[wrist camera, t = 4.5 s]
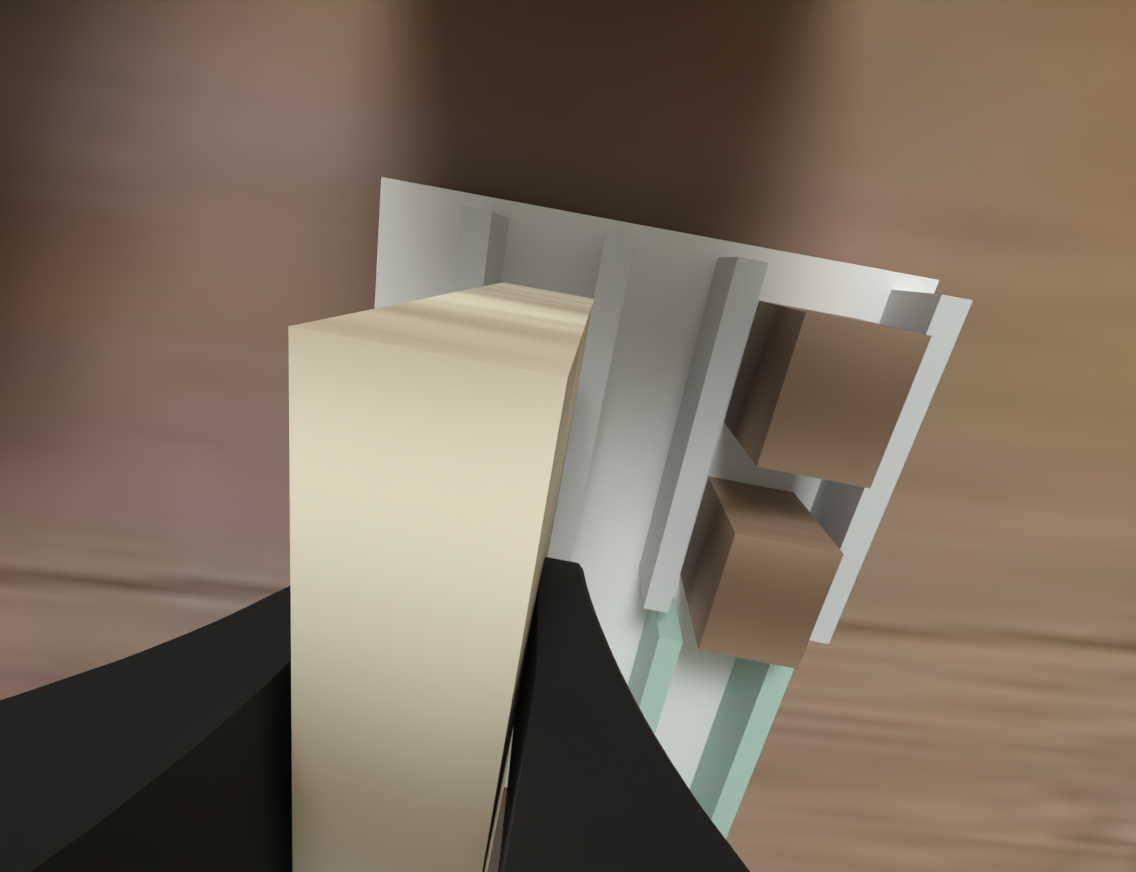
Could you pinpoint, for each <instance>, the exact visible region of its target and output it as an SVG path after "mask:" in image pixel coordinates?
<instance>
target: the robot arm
mask: <svg viewBox="0 0 1136 872" xmlns="http://www.w3.org/2000/svg"><path fill="white" fill-rule="evenodd" d="M0 872H293V866H292V727H291V588H290V586H289V587H287V588H285V589H283V590H281V591H278V592H276V593H274V594H272V595H270V596H268V597H266V598H264V599H262V600H260V601H258V602H256V603H254V604H252V605H250V606H248V607H246V608H244V609H242V610H240V611H237V612H235V613H233V614H231V615H229V616H227V617H225V618H222V619H220V620H218V621H216V622H213V623H211V624H209V625H206V626H204V627H202V628H199V629H197V630H195V631H192V632H190V633H188V634H185V635H183V636H180V637H178V638H175V639H173V640H170V641H168V642H165V643H163V644H160V645H158V646H155V647H153V648H150V649H148V650H145V651H143V652H140V653H137V654H135V655H132V656H129V657H127V658H124V659H121V660H119V661H116V662H113V663H110V664H107V665H104V666H101V667H98V668H95V669H92V670H89V671H86V672H83V673H80V674H78V675H75V676H72V677H69V678H66V679H63V680H60V681H57V682H54V683H51V684H48V685H45V686H42V687H39V688H37V689H34V690H31V691H28V692H25V693H22V694H19V695H16V696H13V697H10V698H6V699H3V700H0ZM498 872H750V871H749V870H748V869H747V867H746V866H745V865H744V863H743V862H742V861H741V859H740V858H739V857H738V855H737V854H736V853H735V851H734V850H733V848H732V847H731V846H730V844H729V843H728V842H727V840H726V839H725V838H724V836H723V835H722V834H721V832H720V831H719V830H718V828H717V827H716V826H715V824H714V823H713V822H712V820H711V819H710V818H709V816H708V815H707V814H706V812H705V811H704V810H703V808H702V807H701V806H700V804H699V803H698V801H697V800H696V798H695V797H694V795H693V794H692V792H691V791H690V789H689V788H688V786H687V785H686V783H685V782H684V780H683V779H682V777H681V776H680V774H679V773H678V771H677V770H676V768H675V767H674V765H673V764H672V762H671V760H670V759H669V757H668V756H667V754H666V752H665V751H664V749H663V747H662V746H661V744H660V743H659V741H658V739H657V738H656V736H655V734H654V733H653V731H652V729H651V728H650V726H649V724H648V722H647V721H646V719H645V717H644V715H643V713H642V712H641V710H640V708H639V706H638V704H637V702H636V701H635V699H634V697H633V695H632V693H631V691H630V689H629V687H628V685H627V683H626V681H625V679H624V677H623V675H622V673H621V671H620V669H619V667H618V665H617V662H616V660H615V658H614V656H613V654H612V651H611V649H610V647H609V644H608V642H607V640H606V637H605V635H604V633H603V630H602V628H601V625H600V623H599V620H598V618H597V615H596V612H595V609H594V606H593V603H592V601H591V598H590V594H589V591H588V588H587V584H586V580H585V576H584V570H583V569H582V567H581V566H580V564H579V563H576V562H570V561H565V560H560V559H554V558H549V557H545V559H544V563H543V567H542V572H541V576H540V580H539V585H538V591H537V596H536V602H535V608H534V613H533V619H532V624H531V630H530V636H529V641H528V647H527V653H526V658H525V664H524V669H523V675H522V681H521V686H520V692H519V697H518V703H517V709H516V714H515V720H514V727H513V737H512V747H511V756H510V766H509V775H508V785H507V795H506V804H505V814H504V824H503V833H502V843H501V852H500V861H499V868H498Z"/></svg>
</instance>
